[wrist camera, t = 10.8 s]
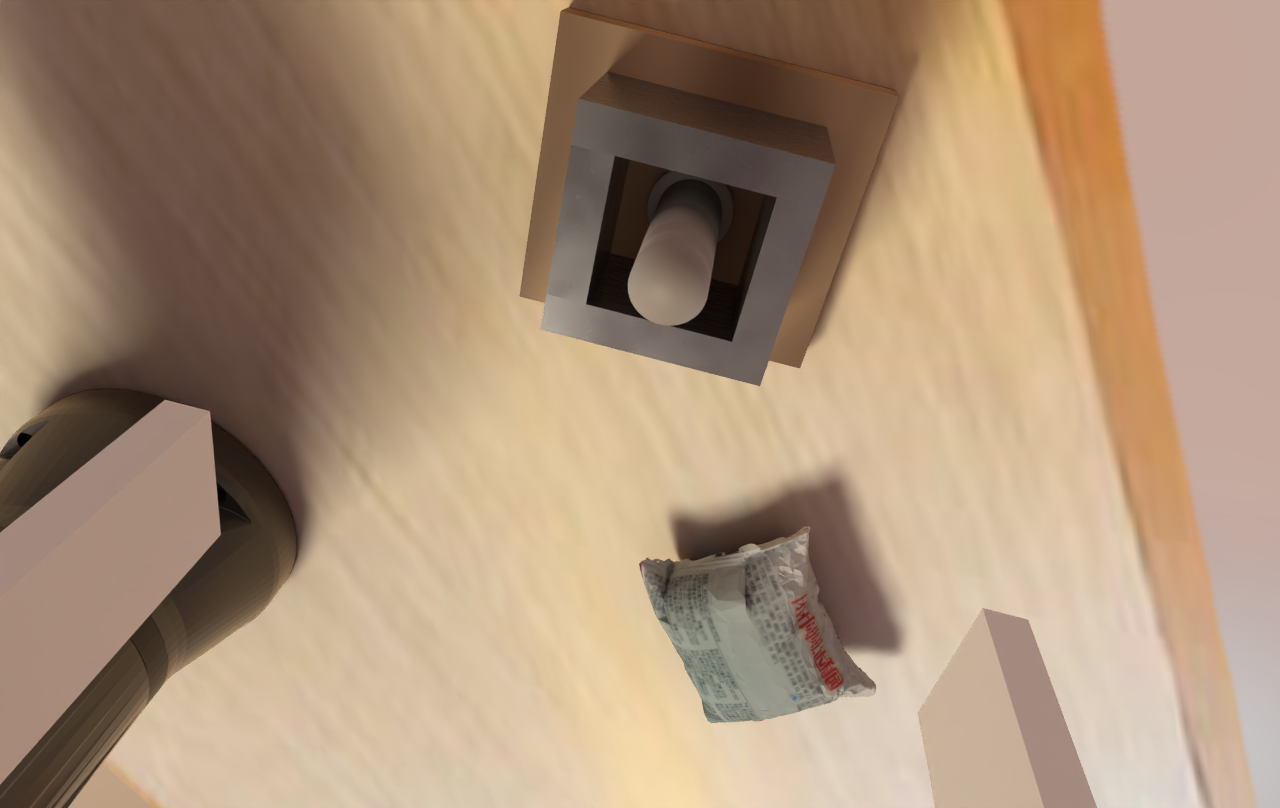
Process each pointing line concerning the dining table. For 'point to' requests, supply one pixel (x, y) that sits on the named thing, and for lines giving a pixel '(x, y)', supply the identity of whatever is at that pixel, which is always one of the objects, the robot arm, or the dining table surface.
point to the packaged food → (753, 630)
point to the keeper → (696, 207)
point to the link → (703, 147)
